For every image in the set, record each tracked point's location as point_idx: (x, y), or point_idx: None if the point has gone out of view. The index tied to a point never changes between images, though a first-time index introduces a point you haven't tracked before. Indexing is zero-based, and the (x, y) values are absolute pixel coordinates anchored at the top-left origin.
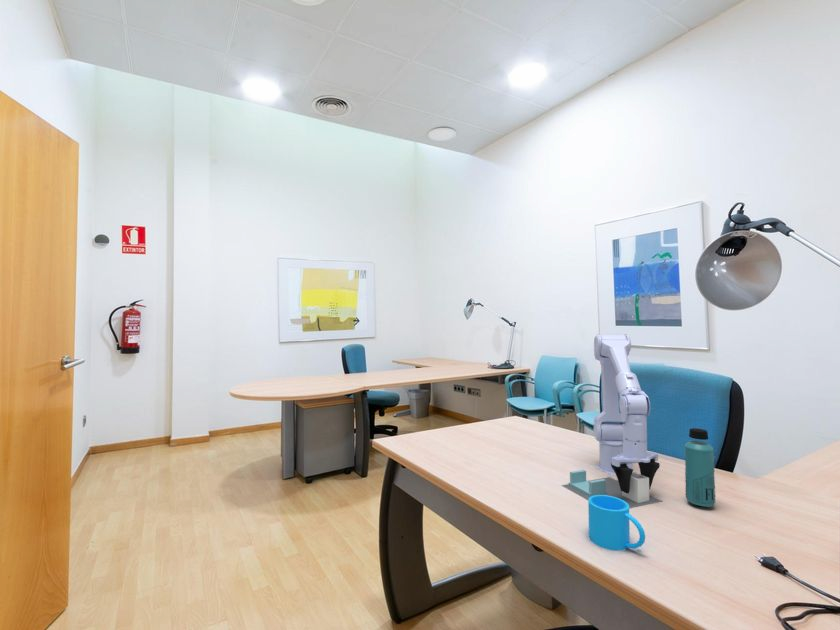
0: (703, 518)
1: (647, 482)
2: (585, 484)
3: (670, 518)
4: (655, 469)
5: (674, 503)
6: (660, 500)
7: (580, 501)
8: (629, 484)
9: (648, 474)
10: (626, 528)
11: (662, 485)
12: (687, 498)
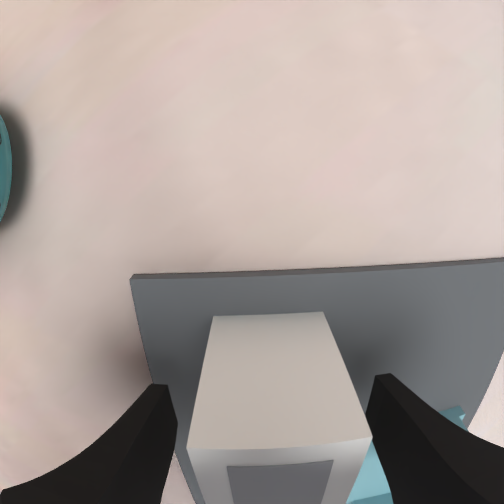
0: (80, 39)
1: (217, 412)
2: (387, 482)
3: (282, 79)
4: (57, 493)
5: (69, 248)
6: (135, 293)
7: (496, 383)
8: (413, 411)
9: (133, 478)
10: None
11: (20, 400)
12: (1, 199)
